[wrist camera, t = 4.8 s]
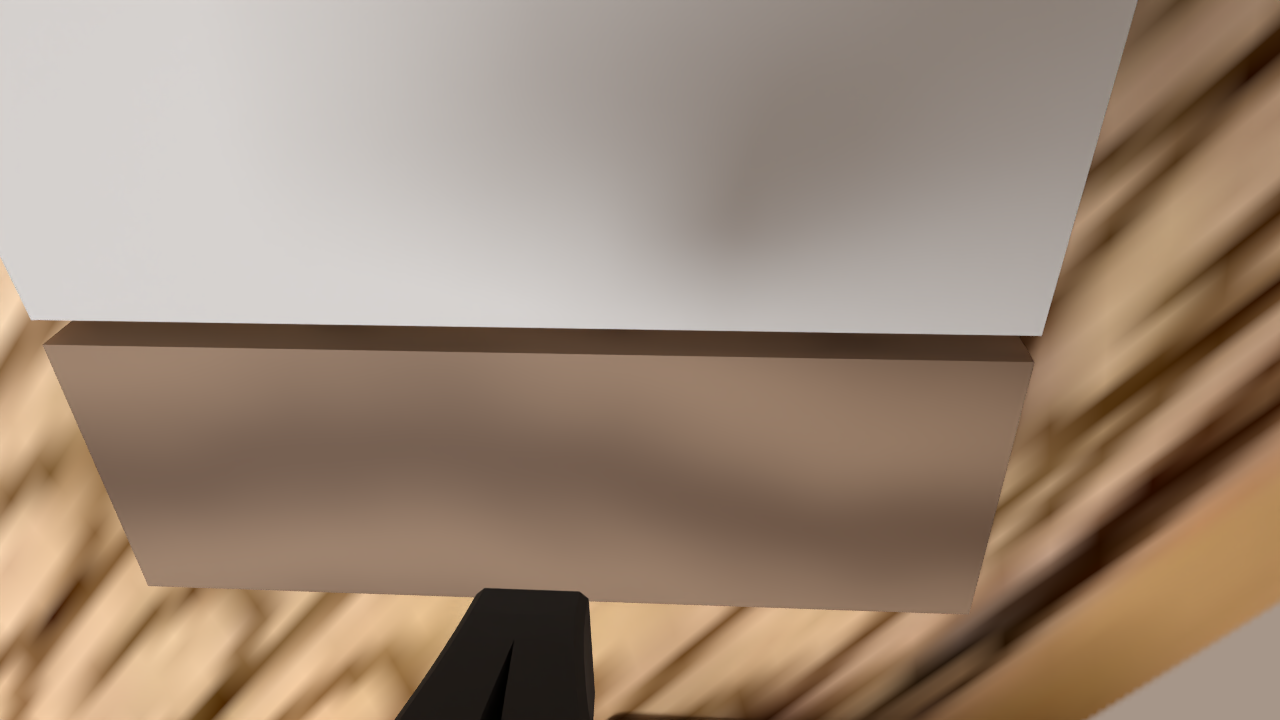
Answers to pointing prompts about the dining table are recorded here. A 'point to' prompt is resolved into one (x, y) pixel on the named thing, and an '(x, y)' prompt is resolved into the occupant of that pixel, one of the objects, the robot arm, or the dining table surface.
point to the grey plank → (551, 161)
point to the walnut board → (552, 459)
